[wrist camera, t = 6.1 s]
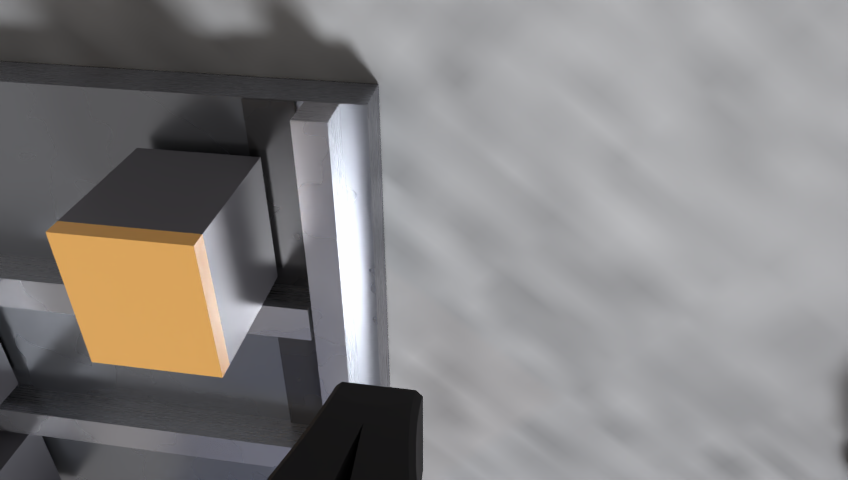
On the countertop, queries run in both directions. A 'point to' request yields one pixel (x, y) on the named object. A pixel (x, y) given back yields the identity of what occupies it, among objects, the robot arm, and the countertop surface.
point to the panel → (277, 318)
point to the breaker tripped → (168, 260)
